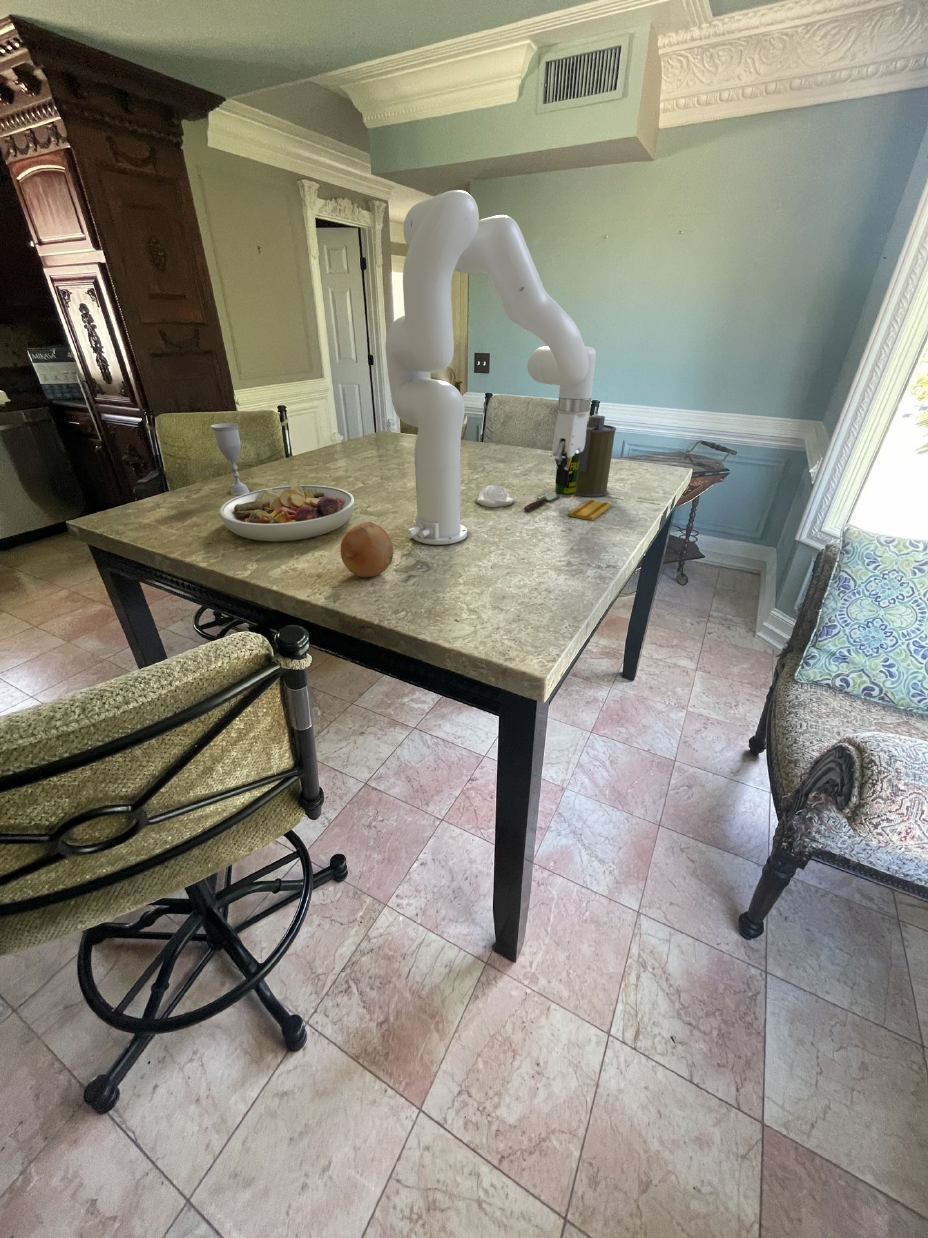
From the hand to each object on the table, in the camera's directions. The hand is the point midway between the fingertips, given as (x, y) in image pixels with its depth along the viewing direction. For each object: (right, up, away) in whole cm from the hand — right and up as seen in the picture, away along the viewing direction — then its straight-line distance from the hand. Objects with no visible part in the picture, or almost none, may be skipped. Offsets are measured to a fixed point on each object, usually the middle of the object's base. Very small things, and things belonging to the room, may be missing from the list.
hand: (566, 481), depth 128 cm
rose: (-18, -4, +6) cm, 19 cm away
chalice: (-90, +1, +14) cm, 91 cm away
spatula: (-6, -4, +6) cm, 9 cm away
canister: (+9, +1, +15) cm, 17 cm away
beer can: (0, -3, +2) cm, 4 cm away
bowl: (-67, -12, -8) cm, 69 cm away
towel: (+6, -8, 0) cm, 10 cm away
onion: (-44, -27, -32) cm, 61 cm away
